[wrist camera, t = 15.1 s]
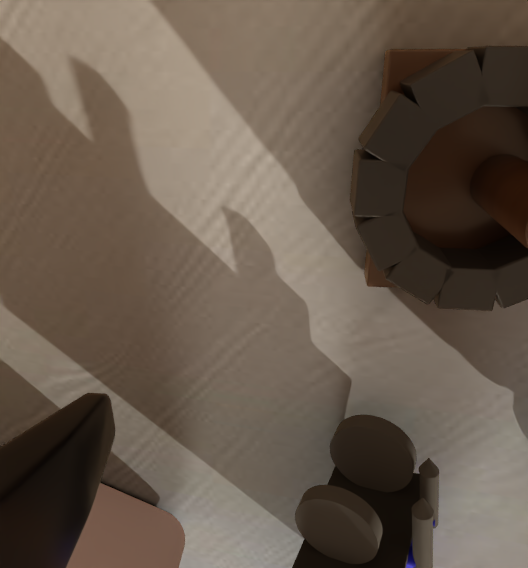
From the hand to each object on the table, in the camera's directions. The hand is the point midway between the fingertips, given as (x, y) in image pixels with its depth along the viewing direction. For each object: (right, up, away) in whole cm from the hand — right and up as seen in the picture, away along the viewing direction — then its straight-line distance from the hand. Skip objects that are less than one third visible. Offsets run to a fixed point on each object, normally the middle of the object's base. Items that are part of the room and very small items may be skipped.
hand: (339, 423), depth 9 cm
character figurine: (+4, -9, +17) cm, 20 cm away
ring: (+6, +6, +8) cm, 12 cm away
